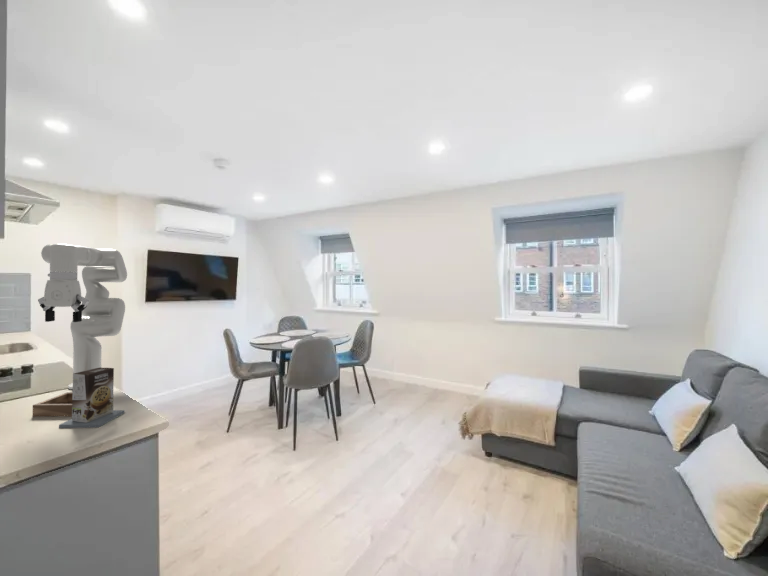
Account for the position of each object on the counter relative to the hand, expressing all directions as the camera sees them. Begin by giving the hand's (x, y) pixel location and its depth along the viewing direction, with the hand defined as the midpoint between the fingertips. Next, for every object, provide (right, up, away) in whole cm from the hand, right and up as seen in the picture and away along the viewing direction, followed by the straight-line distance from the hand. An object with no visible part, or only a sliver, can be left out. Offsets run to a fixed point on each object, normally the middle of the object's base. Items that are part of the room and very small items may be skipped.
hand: (63, 321), depth 124 cm
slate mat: (+22, -33, -12) cm, 41 cm away
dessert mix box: (+22, -32, -12) cm, 41 cm away
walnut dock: (+5, -32, -3) cm, 33 cm away
